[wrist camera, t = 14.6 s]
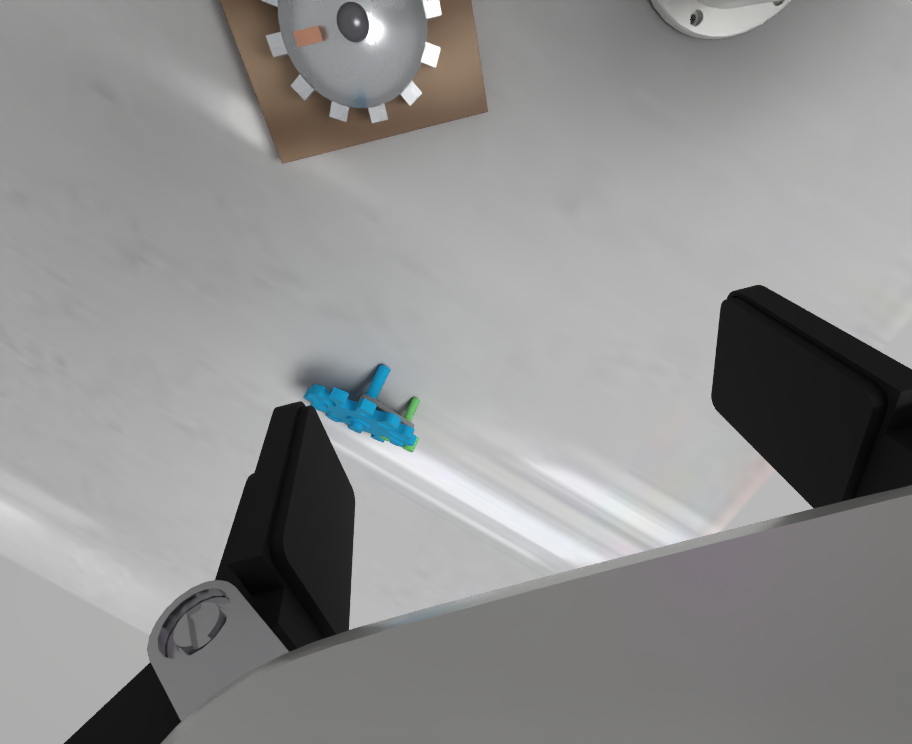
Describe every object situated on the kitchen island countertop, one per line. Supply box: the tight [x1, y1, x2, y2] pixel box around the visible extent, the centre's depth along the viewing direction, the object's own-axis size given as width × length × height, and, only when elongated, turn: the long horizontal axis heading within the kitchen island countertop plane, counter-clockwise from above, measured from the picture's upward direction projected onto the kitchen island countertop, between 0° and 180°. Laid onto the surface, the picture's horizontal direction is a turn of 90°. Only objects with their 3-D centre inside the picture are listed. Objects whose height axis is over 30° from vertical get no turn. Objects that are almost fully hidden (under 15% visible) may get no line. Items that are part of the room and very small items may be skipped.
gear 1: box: [261, 0, 442, 123], centre depth 26 cm, size 10×10×5 cm
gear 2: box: [303, 365, 420, 452], centre depth 42 cm, size 11×6×10 cm
